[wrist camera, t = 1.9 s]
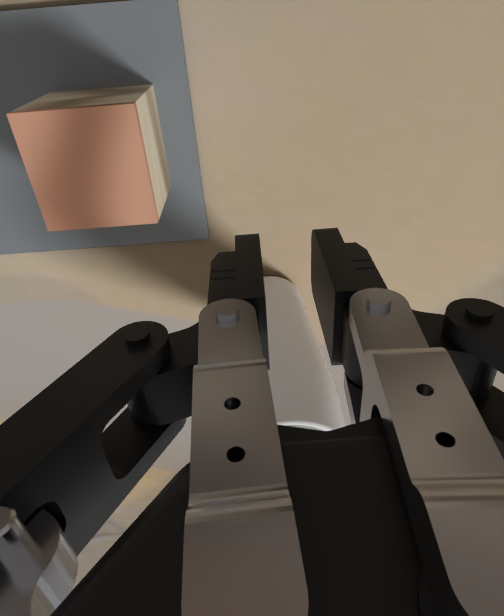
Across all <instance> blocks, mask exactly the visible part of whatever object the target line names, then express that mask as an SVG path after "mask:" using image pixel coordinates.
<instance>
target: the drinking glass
mask: <svg viewBox="0 0 504 616" xmlns="http://www.w3.org/2000/svg"><path fill="white" fill-rule="evenodd" d="M263 278H264V287H265V297H266V314H267V330H268V347H269V364H270V370H268V375H269V381H270V387H271V392H272V398H273V404H274V410H275V416H276V421H277V425H284V426H291V427H299V428H306V429H313V430H321V431H330V430H334V429H338V428H341V427H345V426H346V423H345V419H344V415H343V411H342V407H341V404H340V400H339V397H338V393H337V390H336V388H335V385H334V382H333V379H332V376H331V374H330V371H329V369H328V366H327V364H326V361H325V358H324V356H323V353H322V351H321V348H320V346H319V343H318V340H317V338H316V335H315V333H314V330H313V327H312V325H311V322H310V319H309V317H308V314H307V311H306V308H305V304H304V300H303V296H302V294H301V292H300V291H299V289H298V288H297V287H296V286H295V285H294V284H293V283H292V282H290V281H288V280H287V279H284V278H281V277H276V276H265V277H263Z"/></svg>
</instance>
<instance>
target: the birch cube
mask: <svg viewBox="0 0 504 616" xmlns="http://www.w3.org/2000/svg"><path fill="white" fill-rule="evenodd" d="M6 115H7V118H8V121H9V123H10V126H11V129H12V132H13V135H14V137H15V140H16V143H17V146H18V149H19V151H20V154H21V157H22V160H23V162H24V165H25V168H26V171H27V174H28V176H29V179H30V182H31V185H32V188H33V190H34V193H35V196H36V199H37V202H38V204H39V207H40V210H41V213H42V216H43V218H44V221H45V224H46V227H47V230H48V232H50V231H63V230H76V229H89V228H102V227H115V226H129V225H142V224H155V223H158V221H159V219H160V216H161V213H162V210H163V207H164V204H165V201H166V198H167V196H168V193H169V190H170V187H171V183H170V177H169V171H168V166H167V160H166V154H165V149H164V143H163V137H162V131H161V126H160V120H159V114H158V109H157V103H156V97H155V92H154V86H153V84H147V85H135V86H122V87H110V88H97V89H85V90H72V91H60V92H50V93H48V94H46V95H43V96H41V97H39V98H37V99H35V100H33V101H31V102H29V103H27V104H25V105H23V106H21V107H19V108H17V109H15V110H13V111H11V112H9V113H7V114H6Z"/></svg>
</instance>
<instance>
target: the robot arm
mask: <svg viewBox="0 0 504 616" xmlns="http://www.w3.org/2000/svg"><path fill="white" fill-rule="evenodd" d="M311 284H312V293H313V297H314V301H315V305H316V308H317V312H318V316H319V320H320V323H321V327H322V331H323V335H324V338H325V342H326V346H327V350H328V353H329V357H330V361H331V365H343V366H344V369H345V373H344V374H345V375H344V389H345V394H346V399H347V404H348V408H349V413H350V418H351V423H352V424H351V425H348V426H345V427H341V428H338V429H334V430H330V431H321V430H313V429H306V428H299V427H291V426H284V425H277V421H276V416H275V410H274V404H273V398H272V392H271V387H270V381H269V375H268V370H270V364H269V347H268V330H267V314H266V297H265V287H264V278H263V268H262V258H261V249H260V239H259V234H247V235H235V251H233V252H220V253H218V254H217V256H216V257H215V258H214V259H213V260H212V261H211V273H210V282H209V293H208V304H207V306H205V307H204V308H203V309H202V310H201V312H200V314H199V322H198V323H196V324H195V325H193V326H191V327H189V328H187V329H184V330H181V331H177V332H174V333H170V334H168V331H167V329H166V328H165V327H164V326H163V325H162V324H160V323H157V322H152V321H141V322H135V323H131V324H128V325H126V326H124V327H122V328H120V329H118V330H117V331H116V332H114V333H113V334H112V335H111V336H110V337H108V338H107V339H106V340H105V341H103V342H102V343H101V344H100V345H98V346H97V347H96V348H95V349H93V350H92V351H91V352H90V353H89V354H88V355H86V356H85V357H84V358H83V359H81V360H80V361H79V362H77V363H76V364H75V365H74V366H73V367H71V368H70V369H69V370H68V371H66V372H65V373H64V374H63V375H61V376H60V377H59V378H58V379H56V380H55V381H54V382H53V383H52V384H50V385H49V386H48V387H47V388H45V389H44V390H43V391H42V392H40V393H39V394H38V395H37V396H36V397H34V398H33V399H32V400H31V401H29V402H28V403H27V404H26V405H24V406H23V407H22V408H21V409H20V410H18V411H17V412H16V413H15V414H13V415H12V416H11V417H10V418H8V419H7V420H6V421H5V422H3V423H2V424H1V425H0V616H504V392H502V391H501V390H499V389H497V388H496V387H494V386H493V382H494V379H495V376H496V372H497V370H498V371H500V372H501V373H503V374H504V307H502V306H500V305H498V304H495V303H493V302H490V301H487V300H482V299H476V298H464V299H459V300H455V301H453V302H451V303H450V304H449V305H448V306H447V308H446V312H445V315H442V314H434V313H425V312H419V311H415V310H412V309H411V307H410V305H409V303H408V301H407V300H406V299H405V297H403V296H402V295H401V294H399V293H397V292H395V291H392V290H388V289H387V287H386V285H385V283H384V281H383V279H382V277H381V275H380V273H379V272H378V270H377V268H376V266H375V264H374V262H373V261H372V258H371V257H370V255H369V253H368V251H367V250H366V249H365V248H363V247H362V246H360V245H359V244H357V243H356V242H354V243H344V241H343V239H342V237H341V235H340V232H339V230H338V228H327V229H314V230H312V237H311ZM126 404H128V407H127V408H126V409H125V410H124V411H123V412H122V413H121V414H120V415H119V416H118V417H117V419H115V420H114V421H113V422H112V424H111V425H110V426H109V427H108V428H107V429H106V430H105V431H104V432H103V430H104V428H105V426H106V425H107V423H108V422H109V421H110V420H111V419H112V418H113V417H114V416H115V415H116V414H117V412H119V411H120V409H122V408H123V407H124V406H125V405H126ZM190 416H192V421H191V422H192V423H191V454H190V462H189V463H188V464H187V465H186V466H185V467H183V468H182V469H181V470H180V471H179V472H178V473H177V474H176V475H175V476H174V478H173V479H172V480H171V481H170V482H169V483H168V484H167V485H166V486H165V488H164V489H163V490H162V491H161V492H160V493H159V494H158V495H157V496H156V498H155V499H154V500H153V501H152V502H151V503H150V504H149V505H148V507H147V508H146V509H145V510H144V511H143V512H142V513H141V514H140V515H139V517H138V518H137V519H136V520H135V521H134V522H133V523H132V524H131V525H130V527H129V528H128V529H127V530H126V531H125V532H124V533H123V534H122V536H121V537H120V538H119V539H118V540H117V541H116V542H115V543H114V544H113V546H112V547H111V548H110V549H109V550H108V551H107V552H106V553H105V555H104V556H103V557H102V558H101V559H100V560H99V561H98V563H96V565H95V566H94V567H93V568H92V569H91V570H90V571H89V572H88V573H87V575H86V576H85V577H84V578H83V579H82V580H81V581H80V582H79V584H78V585H77V586H76V587H75V588H74V589H73V590H72V591H71V589H72V587H73V585H74V583H75V580H76V576H77V572H78V560H77V556H78V555H79V553H80V552H81V551H82V550H83V548H84V547H85V546H86V545H87V544H88V542H89V541H90V540H91V539H92V538H93V536H94V535H95V534H96V533H97V531H98V530H99V529H100V528H101V527H102V525H103V524H104V523H105V522H106V521H107V519H108V518H109V517H110V516H111V514H112V513H113V512H114V511H115V510H116V508H117V507H118V506H119V505H120V503H121V502H122V501H123V500H124V499H125V497H126V496H127V495H128V494H129V493H130V491H131V490H132V489H133V488H134V486H135V485H136V484H137V483H138V482H139V480H140V479H141V478H142V477H143V476H144V474H145V473H146V472H147V471H148V469H149V468H150V467H151V466H152V465H153V463H154V462H155V461H156V460H157V458H158V457H159V456H160V455H161V454H162V452H163V451H164V450H165V449H166V447H167V446H168V445H169V444H170V443H171V441H172V440H173V439H174V438H175V436H176V435H177V434H178V433H179V432H180V431H181V429H182V428H183V426H184V424H185V422H186V418H187V417H190ZM102 432H103V433H102ZM70 591H71V592H70ZM69 593H70V594H69ZM68 594H69V595H68Z"/></svg>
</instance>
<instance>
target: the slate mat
mask: <svg viewBox="0 0 504 616" xmlns="http://www.w3.org/2000/svg"><path fill="white" fill-rule="evenodd" d="M147 84H153V86H154V92H155V97H156V103H157V109H158V114H159V120H160V126H161V131H162V137H163V143H164V149H165V154H166V160H167V166H168V171H169V177H170V183H171V187H170V190H169V193H168V196H167V198H166V201H165V204H164V207H163V210H162V213H161V216H160V219H159V221H158V223H155V224H142V225H129V226H115V227H102V228H89V229H76V230H63V231H50V232H48V230H47V227H46V224H45V221H44V218H43V216H42V213H41V210H40V207H39V204H38V202H37V199H36V196H35V193H34V190H33V188H32V185H31V182H30V179H29V176H28V174H27V171H26V168H25V165H24V162H23V160H22V157H21V154H20V151H19V149H18V146H17V143H16V140H15V137H14V135H13V132H12V129H11V126H10V123H9V121H8V118H7V115H6V114H7V113H9V112H11V111H13V110H15V109H17V108H19V107H21V106H23V105H25V104H27V103H29V102H31V101H33V100H35V99H37V98H39V97H41V96H43V95H46V94H48V93H50V92H60V91H72V90H85V89H97V88H110V87H122V86H135V85H147ZM200 239H209V231H208V224H207V216H206V209H205V201H204V194H203V186H202V179H201V171H200V164H199V157H198V149H197V142H196V134H195V127H194V119H193V112H192V104H191V97H190V89H189V82H188V74H187V67H186V59H185V52H184V45H183V37H182V30H181V22H180V15H179V7H178V0H130V1H118V2H106V3H94V4H81V5H69V6H57V7H45V8H33V9H21V10H8V11H0V255H2V254H15V253H28V252H41V251H55V250H68V249H81V248H94V247H108V246H121V245H134V244H147V243H161V242H174V241H187V240H200Z"/></svg>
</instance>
